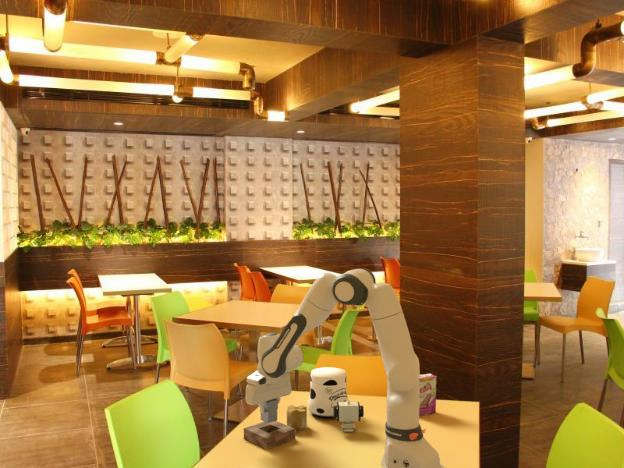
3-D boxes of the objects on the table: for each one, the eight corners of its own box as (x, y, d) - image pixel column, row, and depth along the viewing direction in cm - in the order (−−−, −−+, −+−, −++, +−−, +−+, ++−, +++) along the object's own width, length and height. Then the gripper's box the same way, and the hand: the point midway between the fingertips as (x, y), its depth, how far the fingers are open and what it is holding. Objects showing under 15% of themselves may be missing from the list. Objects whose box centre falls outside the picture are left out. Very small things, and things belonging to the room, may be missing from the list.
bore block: (295, 438, 230) (295, 428, 229) (267, 449, 220) (267, 438, 220) (271, 428, 240) (271, 419, 239) (243, 438, 230) (243, 428, 230)
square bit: (277, 420, 229) (277, 399, 229) (268, 423, 226) (268, 402, 226) (269, 417, 233) (269, 396, 232) (260, 419, 230) (260, 399, 229)
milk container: (346, 421, 247) (346, 378, 247) (304, 419, 251) (304, 376, 250) (350, 407, 264) (350, 367, 264) (312, 405, 268) (312, 365, 267)
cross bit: (311, 428, 241) (311, 408, 240) (296, 433, 235) (296, 413, 234) (297, 422, 247) (297, 403, 246) (281, 427, 241) (281, 408, 241)
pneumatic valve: (363, 432, 236) (363, 402, 235) (333, 433, 235) (333, 403, 235) (362, 427, 241) (362, 398, 241) (333, 427, 241) (333, 398, 240)
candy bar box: (414, 417, 253) (415, 379, 252) (408, 413, 257) (408, 375, 256) (436, 413, 257) (437, 375, 256) (429, 409, 262) (430, 372, 261)
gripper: (284, 368, 238) (284, 402, 239) (242, 378, 224) (242, 415, 225) (294, 371, 233) (294, 406, 234) (253, 382, 219) (253, 419, 220)
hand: (269, 410), depth 229 cm, fingers closed on square bit, 4 cm apart
